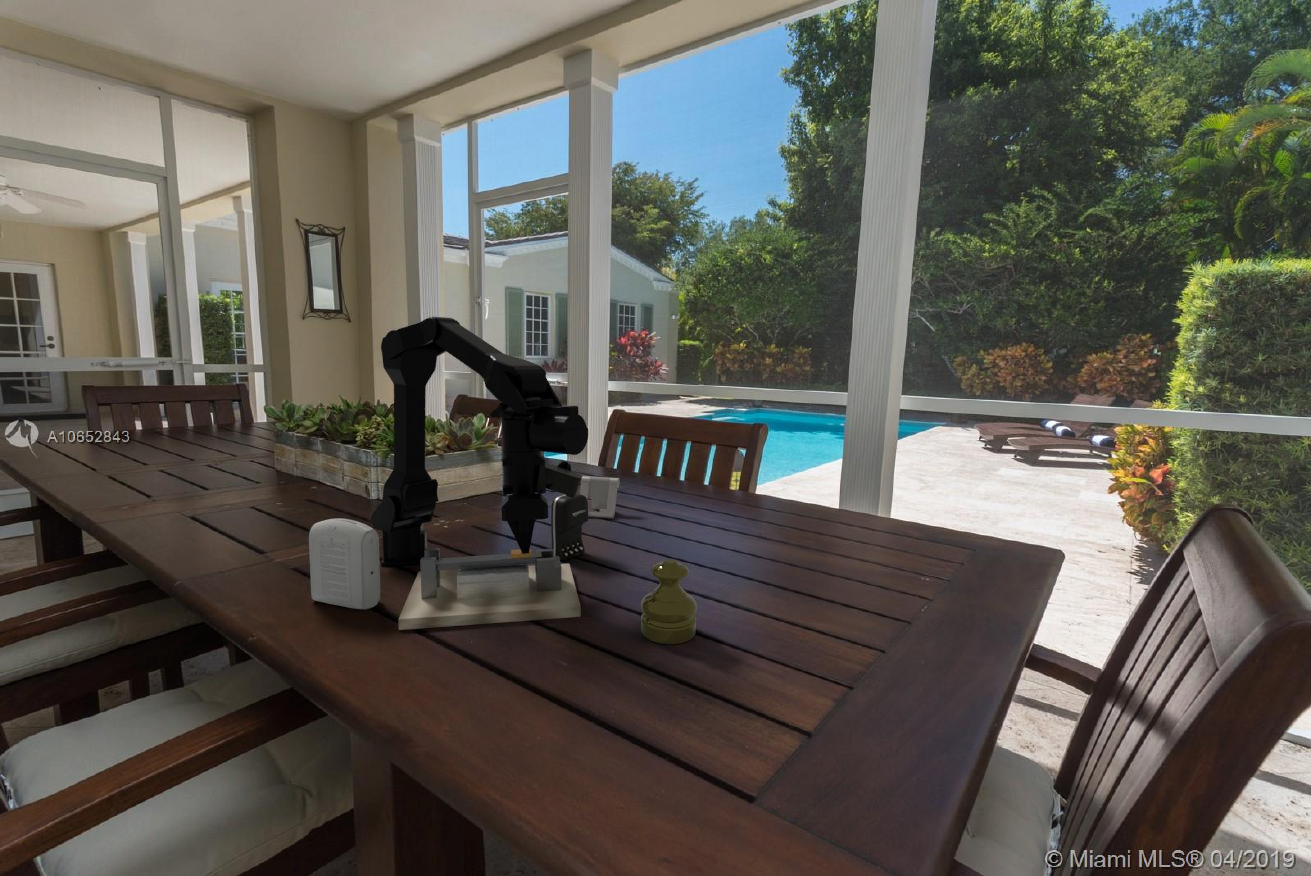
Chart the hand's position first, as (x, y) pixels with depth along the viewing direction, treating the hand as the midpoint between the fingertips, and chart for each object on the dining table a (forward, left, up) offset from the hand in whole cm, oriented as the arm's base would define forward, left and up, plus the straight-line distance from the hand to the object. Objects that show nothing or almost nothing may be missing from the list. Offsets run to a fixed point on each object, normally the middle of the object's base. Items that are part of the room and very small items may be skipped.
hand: (525, 551), depth 92 cm
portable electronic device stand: (+17, +46, -7) cm, 50 cm away
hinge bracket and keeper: (-5, 0, -6) cm, 7 cm away
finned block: (-5, 0, -6) cm, 7 cm away
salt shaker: (+18, -16, -7) cm, 25 cm away
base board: (-5, 0, -7) cm, 8 cm away
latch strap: (-6, 0, -3) cm, 7 cm away
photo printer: (-26, +2, -7) cm, 27 cm away
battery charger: (+8, +17, -7) cm, 20 cm away
